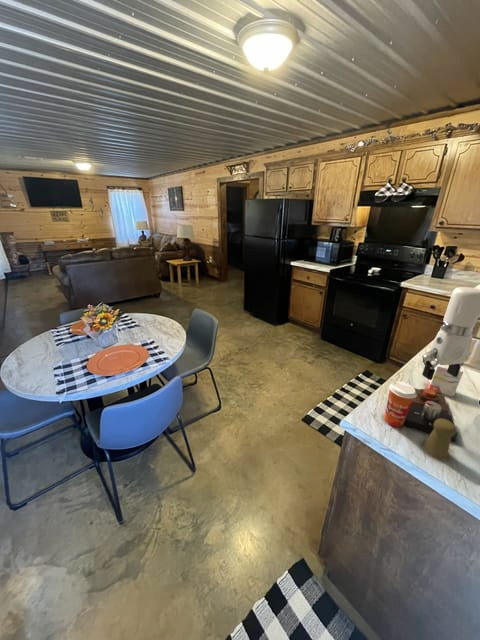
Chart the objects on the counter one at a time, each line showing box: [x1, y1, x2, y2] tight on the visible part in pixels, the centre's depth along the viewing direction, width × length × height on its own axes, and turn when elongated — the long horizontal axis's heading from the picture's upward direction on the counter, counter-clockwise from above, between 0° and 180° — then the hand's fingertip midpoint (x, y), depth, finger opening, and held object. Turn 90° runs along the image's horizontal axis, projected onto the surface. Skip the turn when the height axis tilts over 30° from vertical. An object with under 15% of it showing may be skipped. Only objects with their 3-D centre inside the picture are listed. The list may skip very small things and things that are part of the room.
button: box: [423, 387, 436, 398], centre depth 98 cm, size 4×4×2 cm
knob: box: [421, 401, 441, 422], centre depth 87 cm, size 4×4×5 cm
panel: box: [403, 404, 459, 443], centre depth 89 cm, size 14×10×3 cm
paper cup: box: [384, 381, 417, 428], centre depth 88 cm, size 8×8×14 cm
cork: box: [423, 419, 457, 461], centre depth 77 cm, size 6×6×11 cm
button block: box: [412, 387, 450, 414], centre depth 99 cm, size 12×10×4 cm
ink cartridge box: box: [426, 364, 464, 397], centre depth 104 cm, size 9×5×15 cm, turn 65°
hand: (439, 376), depth 86 cm, fingers open, 9 cm apart
